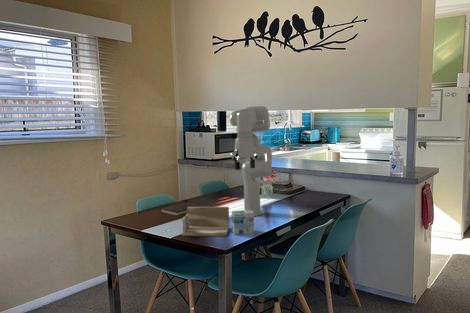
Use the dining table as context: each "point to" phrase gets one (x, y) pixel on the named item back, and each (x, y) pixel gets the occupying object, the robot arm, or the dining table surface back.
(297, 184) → the dining table surface
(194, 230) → the shelf
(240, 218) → the light bulb box
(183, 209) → the hardcover book
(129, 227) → the dining table surface
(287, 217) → the dining table surface
